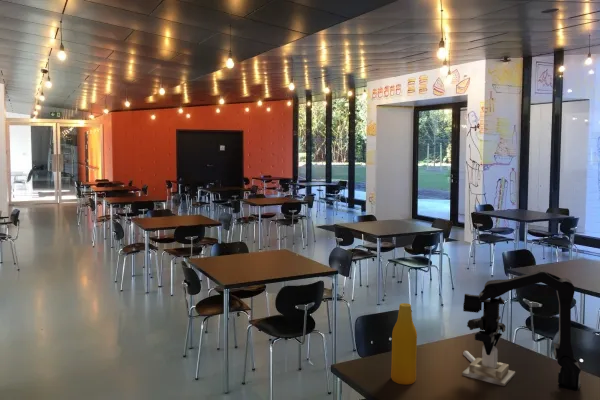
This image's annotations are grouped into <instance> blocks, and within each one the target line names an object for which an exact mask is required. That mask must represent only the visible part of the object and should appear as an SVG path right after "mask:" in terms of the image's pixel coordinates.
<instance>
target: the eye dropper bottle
mask: <svg viewBox="0 0 600 400" xmlns="http://www.w3.org/2000/svg"><path fill="white" fill-rule="evenodd" d="M481 353H482V355H481V358H482V365H483V366H485V367H489V368H493V369H495V368H497V362H498V353H499V351H498V348H497V346H496V347H495V346H493V349H492V351H491V353H490V355H487V354H486V350H485V347H484V345H482V352H481Z"/></svg>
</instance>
